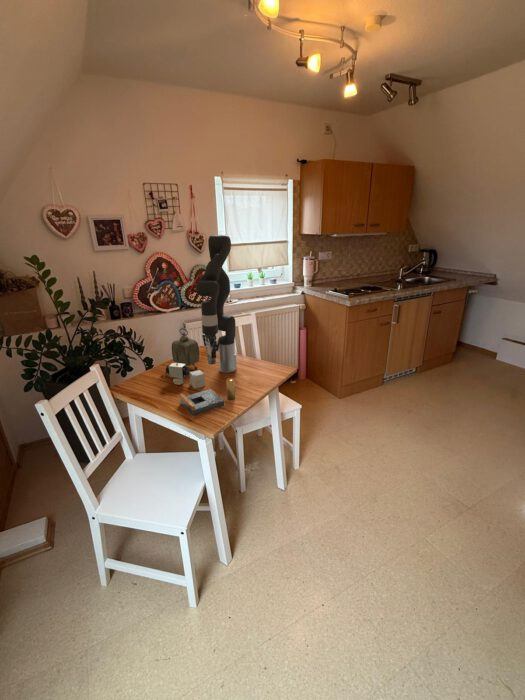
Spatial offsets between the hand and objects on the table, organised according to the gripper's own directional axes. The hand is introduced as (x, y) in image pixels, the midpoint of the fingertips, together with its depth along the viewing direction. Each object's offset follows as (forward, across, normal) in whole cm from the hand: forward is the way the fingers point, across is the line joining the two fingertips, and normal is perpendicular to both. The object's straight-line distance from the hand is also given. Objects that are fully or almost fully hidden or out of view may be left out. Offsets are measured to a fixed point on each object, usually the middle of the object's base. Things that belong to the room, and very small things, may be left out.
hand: (211, 356), depth 158 cm
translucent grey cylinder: (+3, 0, 0) cm, 3 cm away
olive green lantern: (+19, +35, 0) cm, 40 cm away
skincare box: (+20, +11, +4) cm, 23 cm away
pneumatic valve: (+19, +19, +11) cm, 29 cm away
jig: (+19, -9, +11) cm, 24 cm away
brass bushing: (+19, -12, -3) cm, 23 cm away
